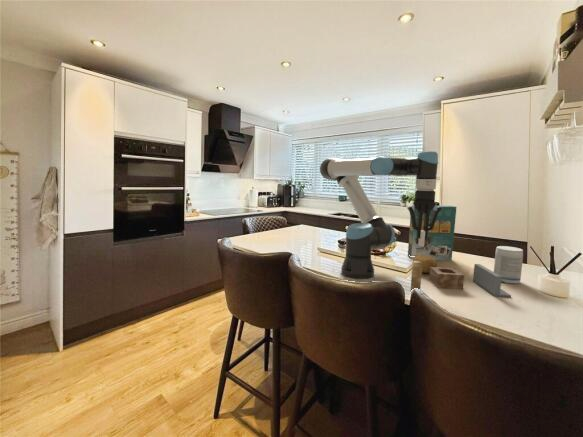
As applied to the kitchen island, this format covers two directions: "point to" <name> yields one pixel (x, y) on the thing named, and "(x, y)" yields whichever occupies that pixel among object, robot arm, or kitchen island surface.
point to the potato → (425, 262)
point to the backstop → (488, 281)
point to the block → (446, 278)
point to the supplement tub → (508, 263)
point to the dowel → (416, 274)
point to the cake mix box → (435, 235)
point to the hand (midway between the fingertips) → (421, 245)
